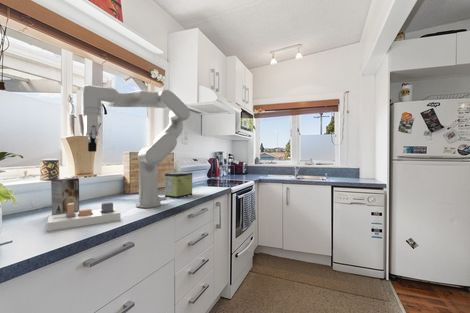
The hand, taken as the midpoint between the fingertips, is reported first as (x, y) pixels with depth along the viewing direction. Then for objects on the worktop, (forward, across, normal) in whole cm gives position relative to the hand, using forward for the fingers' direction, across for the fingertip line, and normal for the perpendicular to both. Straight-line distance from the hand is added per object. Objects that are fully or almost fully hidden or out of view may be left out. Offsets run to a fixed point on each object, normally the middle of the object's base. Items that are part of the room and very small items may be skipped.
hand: (92, 151), depth 110 cm
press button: (+29, +15, -4) cm, 33 cm away
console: (+29, +15, -4) cm, 33 cm away
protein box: (+29, -17, +51) cm, 61 cm away
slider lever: (+26, +15, -9) cm, 31 cm away
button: (+27, +15, +4) cm, 31 cm away
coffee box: (+29, -8, -10) cm, 32 cm away
